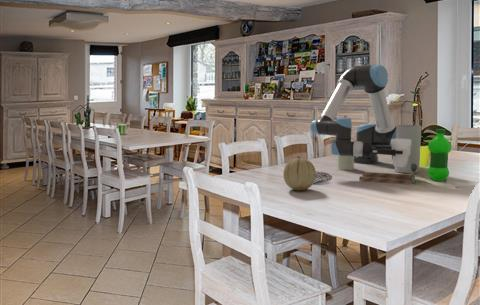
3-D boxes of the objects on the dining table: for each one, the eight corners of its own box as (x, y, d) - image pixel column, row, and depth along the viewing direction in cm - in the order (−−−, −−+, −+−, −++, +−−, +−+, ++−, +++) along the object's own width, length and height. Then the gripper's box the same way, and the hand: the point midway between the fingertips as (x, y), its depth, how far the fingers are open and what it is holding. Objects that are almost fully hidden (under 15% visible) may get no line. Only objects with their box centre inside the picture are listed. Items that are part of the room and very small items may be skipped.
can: (355, 168, 258) (355, 147, 256) (352, 170, 250) (352, 149, 248) (339, 166, 262) (339, 146, 260) (335, 169, 254) (336, 148, 252)
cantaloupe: (293, 195, 194) (293, 160, 192) (277, 188, 208) (277, 156, 205) (322, 191, 200) (323, 158, 198) (304, 185, 213) (305, 153, 211)
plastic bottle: (422, 177, 229) (425, 128, 225) (443, 177, 229) (445, 128, 226) (432, 181, 219) (435, 130, 215) (453, 181, 219) (456, 130, 216)
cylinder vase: (407, 174, 237) (409, 127, 234) (389, 170, 248) (391, 125, 245) (424, 172, 243) (426, 126, 239) (405, 168, 254) (407, 124, 250)
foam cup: (386, 164, 225) (388, 138, 224) (404, 164, 226) (406, 138, 224) (395, 167, 216) (396, 140, 214) (413, 167, 217) (415, 140, 215)
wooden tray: (359, 180, 223) (359, 163, 221) (362, 175, 236) (363, 158, 235) (416, 184, 213) (417, 166, 212) (416, 178, 226) (417, 161, 225)
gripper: (365, 153, 237) (410, 155, 229) (359, 159, 217) (409, 162, 209) (365, 139, 236) (411, 141, 228) (360, 144, 216) (410, 146, 208)
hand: (410, 151), depth 219 cm, fingers closed on foam cup, 9 cm apart
